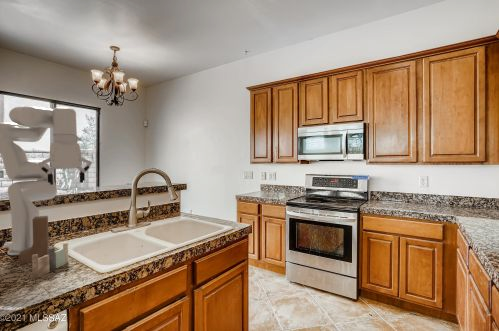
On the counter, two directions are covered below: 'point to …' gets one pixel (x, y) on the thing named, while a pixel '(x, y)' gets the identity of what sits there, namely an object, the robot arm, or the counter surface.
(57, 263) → the fence swing section
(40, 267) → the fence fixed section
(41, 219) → the wooden block
